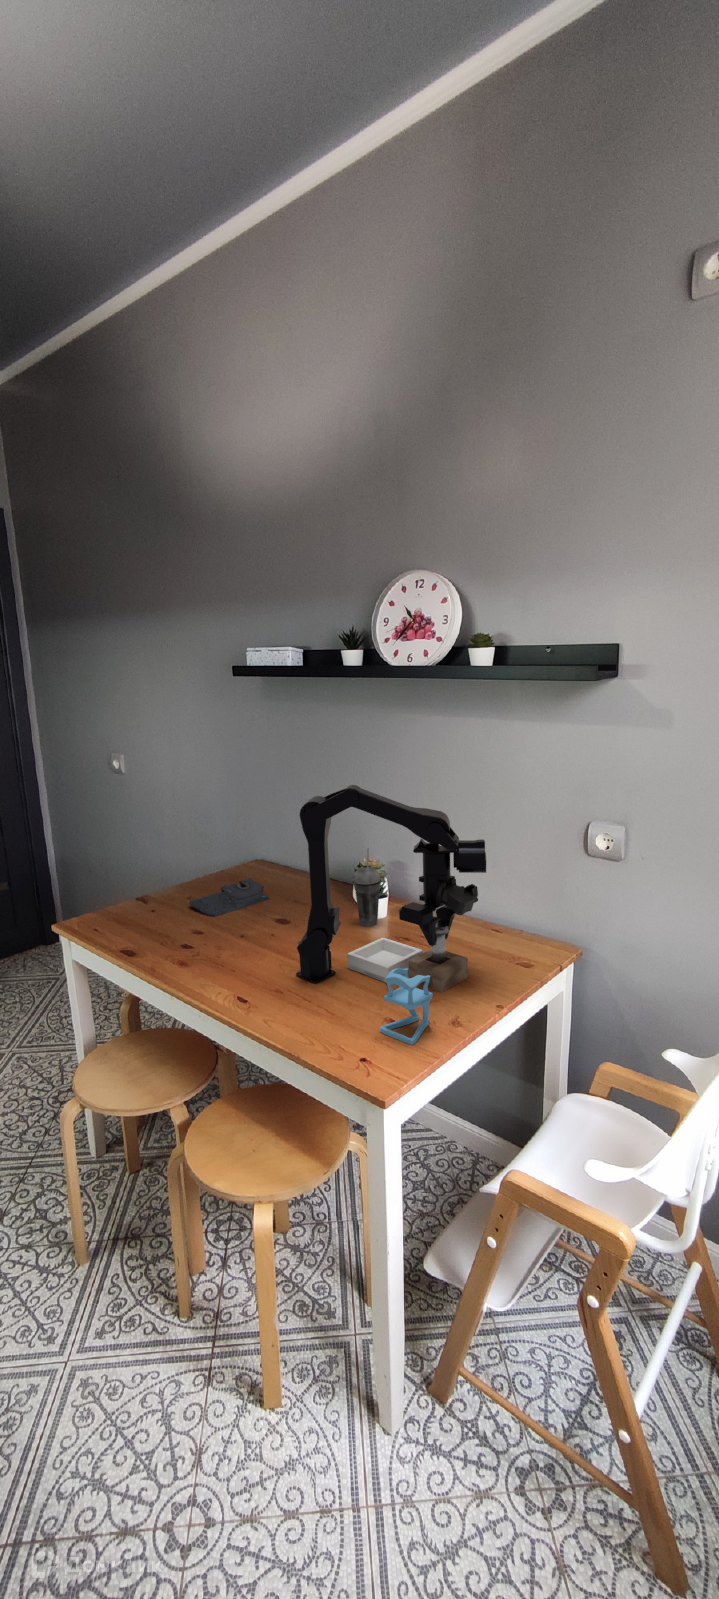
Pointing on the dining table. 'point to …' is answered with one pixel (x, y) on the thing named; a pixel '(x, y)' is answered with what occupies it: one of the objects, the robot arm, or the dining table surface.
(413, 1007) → the chair
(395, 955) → the tray
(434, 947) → the lock pin
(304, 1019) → the dining table surface
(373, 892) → the beverage cup
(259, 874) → the dining table surface
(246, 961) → the dining table surface
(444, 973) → the block
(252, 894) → the grey stepped plate
